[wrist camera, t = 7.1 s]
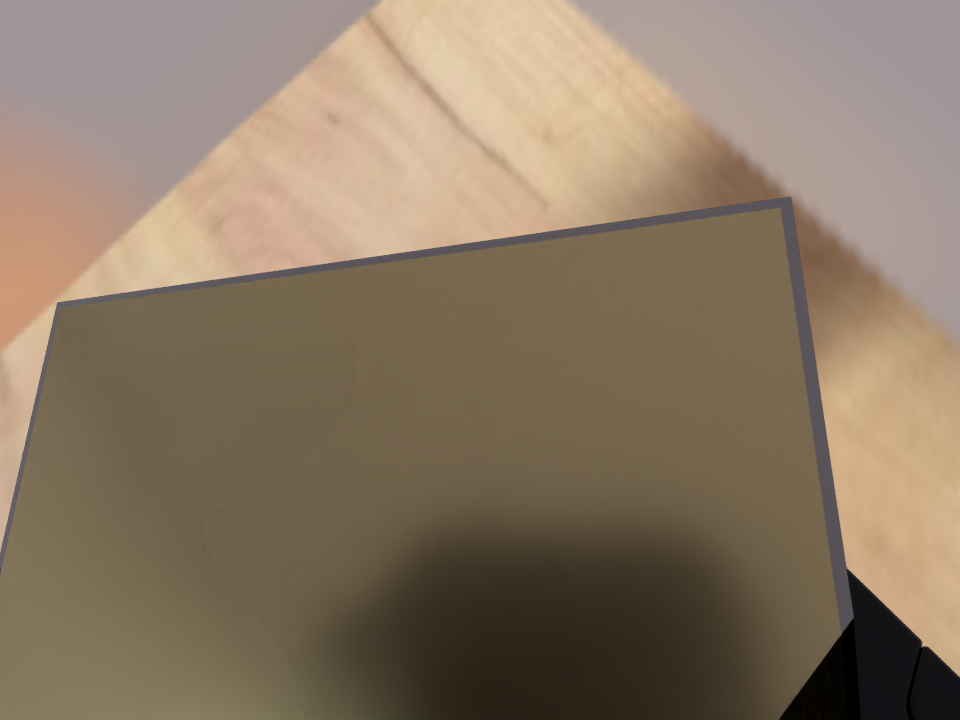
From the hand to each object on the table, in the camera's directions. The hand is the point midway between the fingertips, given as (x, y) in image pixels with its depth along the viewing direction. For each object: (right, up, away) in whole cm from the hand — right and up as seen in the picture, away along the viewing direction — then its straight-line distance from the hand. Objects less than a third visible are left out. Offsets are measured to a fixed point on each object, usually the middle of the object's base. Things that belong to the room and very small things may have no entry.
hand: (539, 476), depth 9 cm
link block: (+2, -3, +6) cm, 7 cm away
